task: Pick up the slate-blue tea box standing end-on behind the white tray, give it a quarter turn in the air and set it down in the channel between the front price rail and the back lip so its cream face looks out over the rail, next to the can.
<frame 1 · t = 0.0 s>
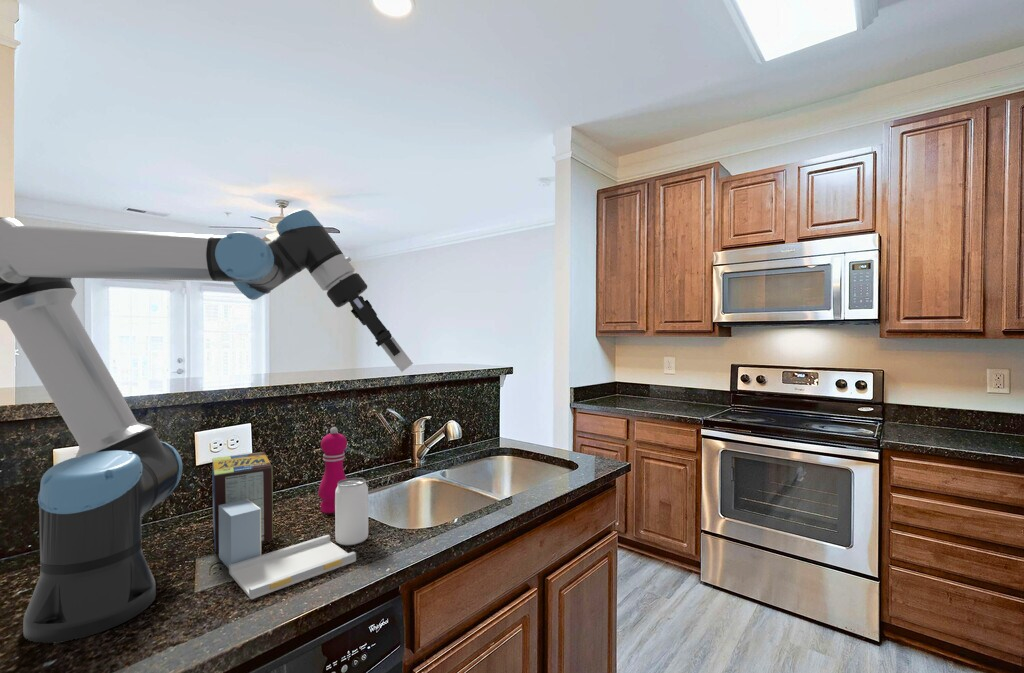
hand: (404, 365, 99), 36 cm above the table, tool tilted 35°, fingers open, 13 cm apart
white tray: (294, 567, 87), on the table
tea box: (239, 559, 90), on the table
pepper mill: (334, 509, 116), on the table
can: (352, 540, 98), on the table
protein box: (241, 534, 102), on the table
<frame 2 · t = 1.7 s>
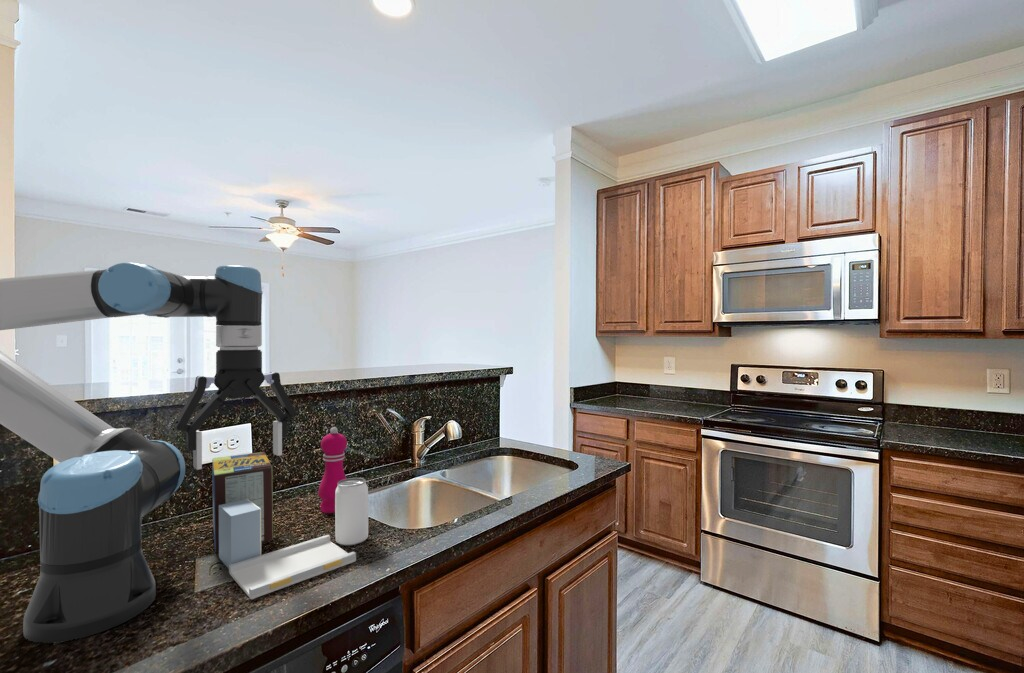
hand: (239, 461, 90), 19 cm above the table, tool pointing down, fingers open, 13 cm apart
nothing on the table moved.
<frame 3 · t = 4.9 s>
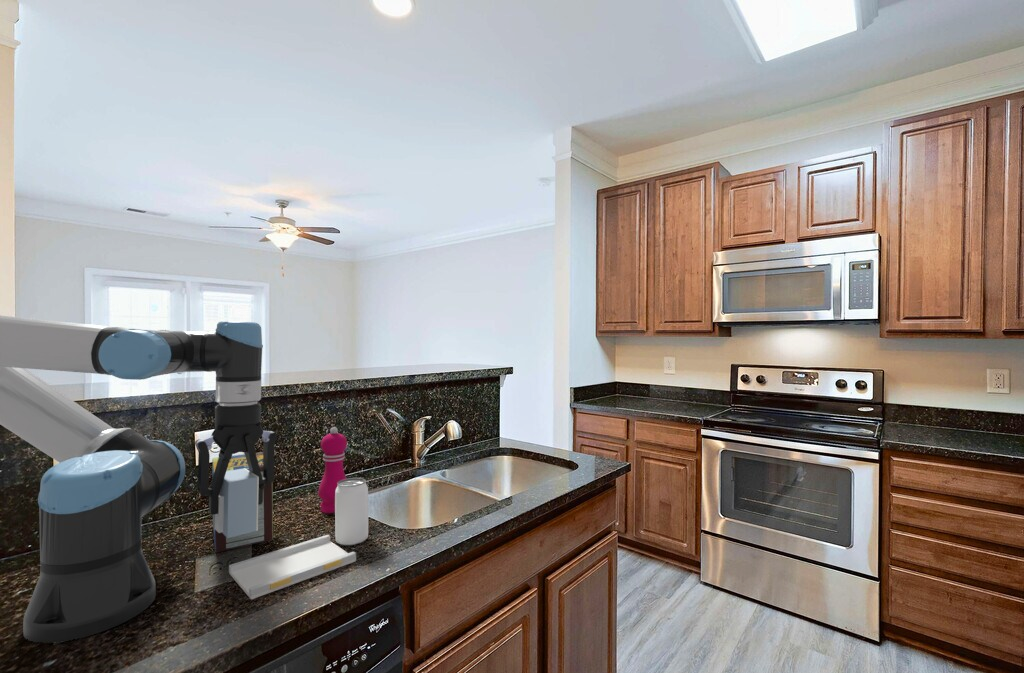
hand: (236, 525, 90), 6 cm above the table, tool pointing down, fingers closed on tea box, 5 cm apart
tea box: (236, 527, 90), point 6 cm above the table, touching gripper
everything else where it was.
when the fingers open (2 cm above the table, at t = 8.5 s): tea box drops 1 cm, resting on white tray.
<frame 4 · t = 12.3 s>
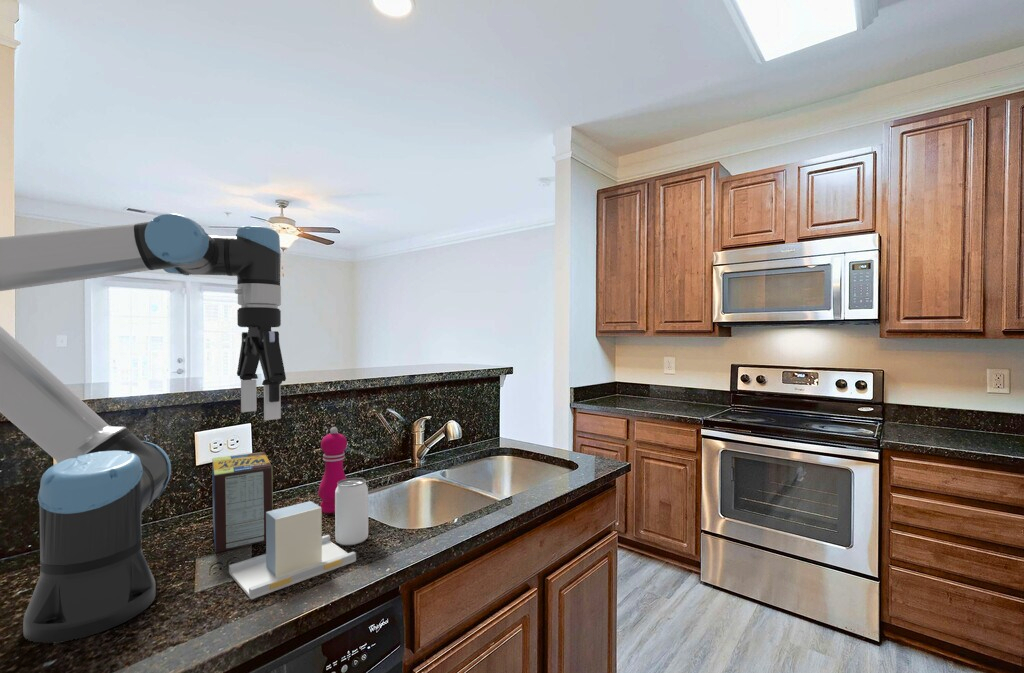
hand: (260, 415, 93), 27 cm above the table, tool pointing down, fingers open, 13 cm apart
tea box: (294, 564, 87), resting on white tray
everything else where it was.
at the end: tea box inside the target area (0.0 cm from its centre), point 0.5 cm above the table; tea box tilted 0°; the gripper is holding nothing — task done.
